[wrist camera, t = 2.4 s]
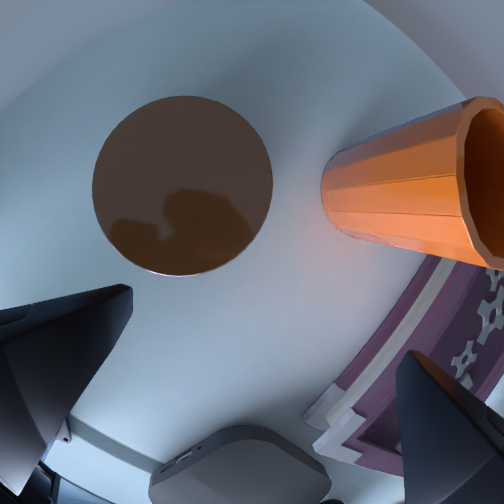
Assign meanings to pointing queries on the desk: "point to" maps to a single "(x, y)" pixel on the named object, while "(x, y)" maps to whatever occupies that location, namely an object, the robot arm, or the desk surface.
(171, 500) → the media streaming box
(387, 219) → the cup
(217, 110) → the jar
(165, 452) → the desk surface
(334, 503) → the black blower fan
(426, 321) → the book
